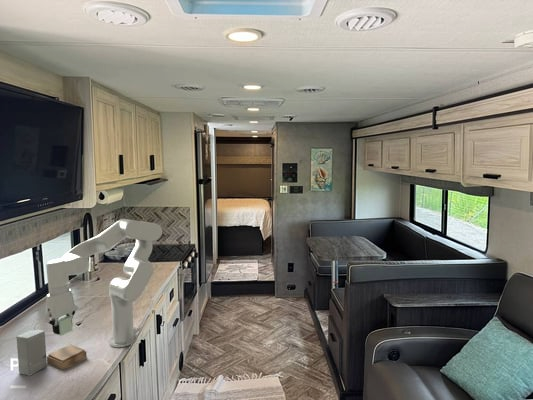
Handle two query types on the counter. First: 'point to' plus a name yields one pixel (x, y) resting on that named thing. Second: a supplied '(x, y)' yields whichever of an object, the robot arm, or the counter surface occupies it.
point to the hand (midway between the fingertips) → (63, 330)
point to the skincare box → (31, 351)
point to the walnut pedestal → (66, 357)
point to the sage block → (64, 324)
